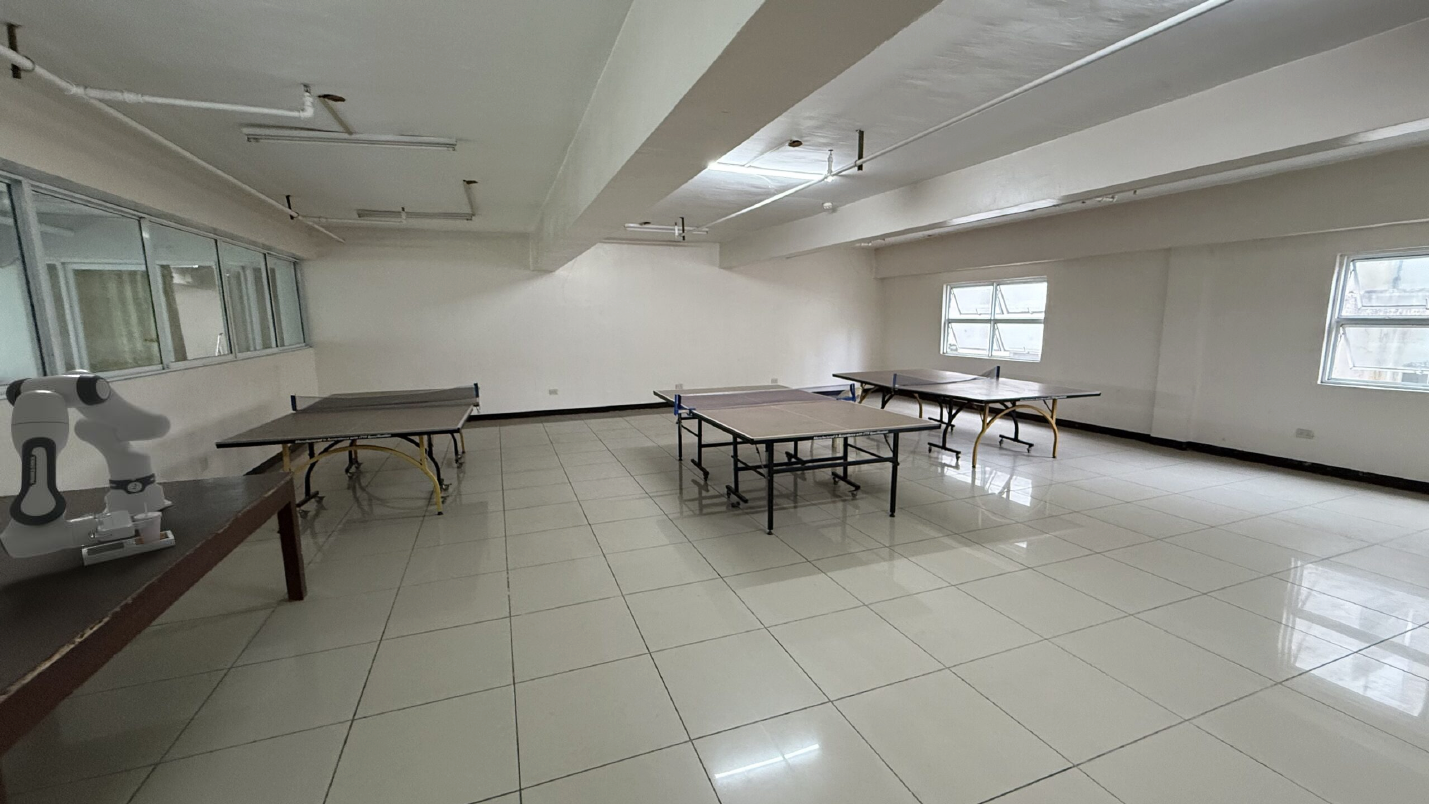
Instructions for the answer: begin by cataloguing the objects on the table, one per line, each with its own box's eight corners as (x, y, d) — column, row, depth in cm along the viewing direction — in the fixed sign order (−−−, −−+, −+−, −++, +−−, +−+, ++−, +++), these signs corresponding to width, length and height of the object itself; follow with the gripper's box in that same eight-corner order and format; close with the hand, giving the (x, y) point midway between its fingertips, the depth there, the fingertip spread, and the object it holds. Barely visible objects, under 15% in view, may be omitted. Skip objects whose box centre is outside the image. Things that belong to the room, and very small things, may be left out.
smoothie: (131, 547, 171) (126, 506, 169) (146, 539, 177) (141, 499, 175) (156, 545, 172) (150, 505, 170) (170, 537, 179) (165, 498, 176)
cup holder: (83, 556, 166) (81, 548, 166) (171, 537, 182) (170, 530, 181) (84, 565, 160) (83, 558, 160) (175, 545, 176) (174, 538, 175)
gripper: (87, 530, 156) (154, 517, 167) (84, 513, 169) (147, 502, 180) (91, 549, 158) (157, 535, 168) (88, 531, 170) (150, 519, 181)
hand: (152, 518), depth 174 cm, fingers closed on smoothie, 6 cm apart
